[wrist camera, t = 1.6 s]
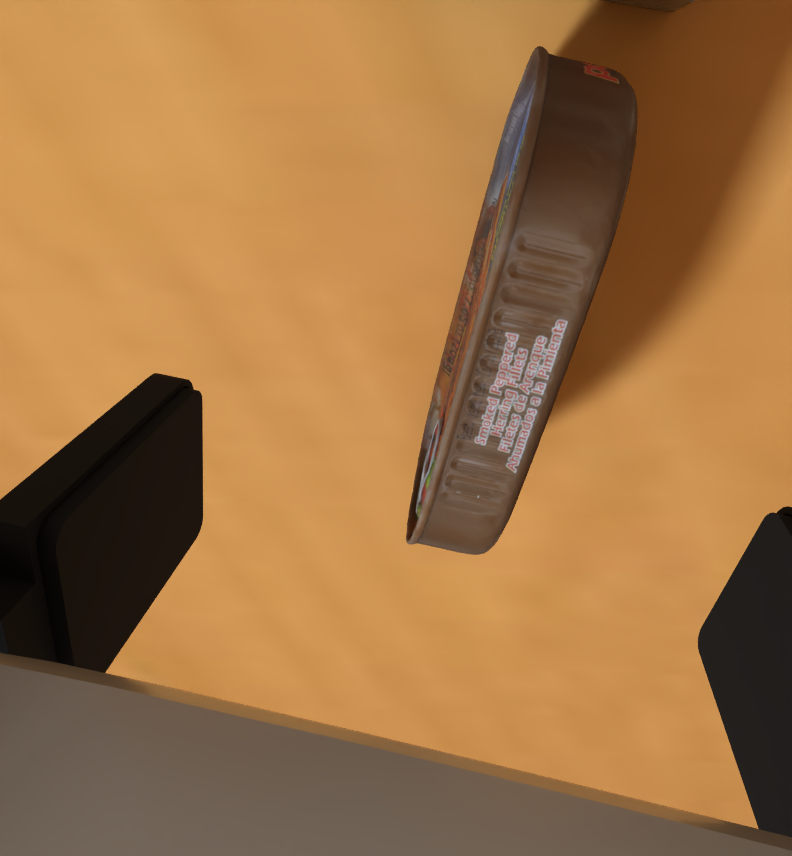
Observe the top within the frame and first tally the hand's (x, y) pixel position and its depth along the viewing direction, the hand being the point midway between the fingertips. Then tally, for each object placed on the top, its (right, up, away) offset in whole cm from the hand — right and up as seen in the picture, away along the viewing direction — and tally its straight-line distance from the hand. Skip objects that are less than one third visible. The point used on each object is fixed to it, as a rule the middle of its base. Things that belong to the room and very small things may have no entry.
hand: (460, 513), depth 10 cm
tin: (+3, +6, +13) cm, 14 cm away
